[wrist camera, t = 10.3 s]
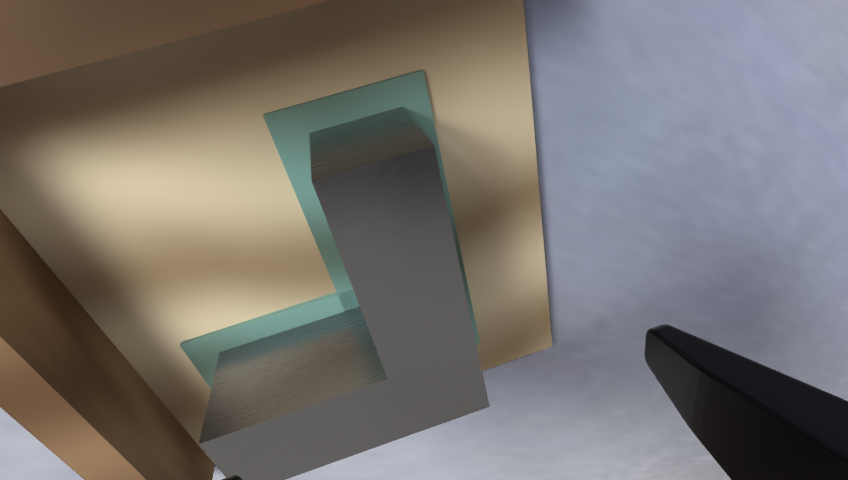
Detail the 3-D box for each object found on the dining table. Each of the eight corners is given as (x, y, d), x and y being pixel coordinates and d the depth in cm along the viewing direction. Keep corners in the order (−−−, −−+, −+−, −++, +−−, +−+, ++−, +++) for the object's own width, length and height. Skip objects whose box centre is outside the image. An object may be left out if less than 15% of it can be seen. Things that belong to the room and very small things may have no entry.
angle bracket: (456, 332, 19) (489, 406, 16) (252, 401, 18) (241, 495, 15) (402, 106, 14) (434, 144, 10) (111, 189, 13) (46, 260, 10)
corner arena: (-184, 56, 11) (-376, 82, 8) (505, -115, 12) (570, -148, 9) (184, 464, 20) (164, 548, 17) (546, 338, 22) (585, 394, 19)
